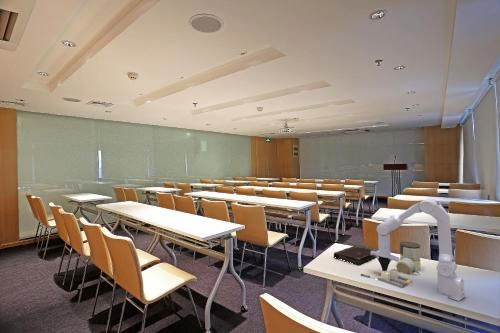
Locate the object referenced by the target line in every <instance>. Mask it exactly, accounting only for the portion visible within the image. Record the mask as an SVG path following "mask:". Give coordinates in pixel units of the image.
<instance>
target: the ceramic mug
mask: <svg viewBox="0 0 500 333" xmlns="http://www.w3.org/2000/svg"><path fill="white" fill-rule="evenodd" d="M415 268H416V266H415V263H414V262H413V261H412V260H411V259H409V258H403V259H402V260H400V259H399V262H397V263H396V267H395V269H396V270H397V271H398V273H402V274H405V275H412V276H420V275H421V273H420V271H418V270H416V269H415ZM415 273H416V274H415Z"/></svg>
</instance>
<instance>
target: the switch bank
mask: <svg viewBox="0 0 500 333" xmlns="http://www.w3.org/2000/svg"><path fill="white" fill-rule="evenodd" d="M377 279H378V280H377V281H380V282H383V283H386V284H388V285H391V286H393V287H397V288H400V289H403V288H405V287H407V286H409V285H411V284H413V279H409V278H406V277H403V276H401V275H398V279H397V278H393V277H390V281H388V280H385V279H382V278H381V275H380V276H378V277H377Z"/></svg>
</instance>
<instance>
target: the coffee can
mask: <svg viewBox="0 0 500 333" xmlns="http://www.w3.org/2000/svg"><path fill="white" fill-rule="evenodd" d="M399 246H400V247H399V252H400V253H399V254H400V256H399V261H400V260H402V259H403V258H409V259H411V260H412V261H413V262H414V263H415V266H416V268H415V269H416V270H418V271H419V272H420V271H421V270H422V269H421V245H420V244H419V243H417V242H412V241H401V242H399Z"/></svg>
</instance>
